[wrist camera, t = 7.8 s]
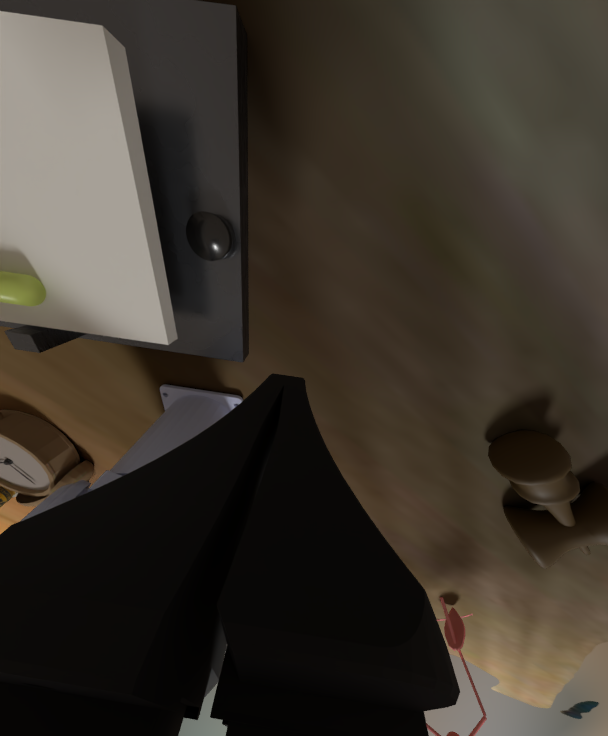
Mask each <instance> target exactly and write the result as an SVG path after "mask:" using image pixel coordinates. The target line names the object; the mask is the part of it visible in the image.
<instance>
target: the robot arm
mask: <svg viewBox="0 0 608 736" xmlns="http://www.w3.org/2000/svg"><path fill="white" fill-rule="evenodd" d="M160 393H161V397H162V401H163V405H164V409H165V412H164V413H163V414H162V415H161V416H160V417H159V418H158V420H157V421H156V422H155V423H154V424H153V425H152V426H151V427H150V428H149V429H148V430H147V431H146V432H145V433H144V435H143V436H142V437H141V438H140V439H139V440H138V441H137V442H136V443H135V444H134V445H133V446H132V447H131V448H130V450H129V451H128V452H127V453H126V454H125V455H124V456H123V457H122V458H121V459H120V460H119V461H118V462H117V463H116V464H115V466H114V467H113V468H112V469H111V470H110V471H109V470H107V471H105V472H104V473H103V474H102V475H101V476H100V478H99V479H98V480H97V481H96V482H95V483H94V484H93V485H92V486H91V487H90V488H89V489H87V488H88V487H89V486H90V484H91V483H89V482H87V481H85V480H80V481H78V482H76V483H72V484H68V485H64V486H62V487H60V488H59V489H57V490H56V491H55V492H53V493H52V494H51V495H50V496H48V497H47V498H46V499H45V500H44V501H42V502H41V503H40V504H39V505H38V506H37V507H36V508H34V509H33V510H32V511H31V512H30V513H29V514H28V515H27V516H26V517H24V518H23V519H22V520H21V521H20V522H18V523H16V524H13V525H11V526H10V527H9V528H8V529H6V530H5V531H4V532H3V533H2V534H1V535H0V736H178V734H179V731H180V727H181V724H182V721H183V717H184V718H190V719H195V720H198V718H199V715H200V711H201V707H202V703H203V699H204V697H205V696H206V695H207V694H208V693H209V692H210V691H211V690H212V689H213V687H214V686H215V685H216V684H217V683H218V686H217V689H216V694H215V698H214V702H213V706H212V711H211V716H210V717H211V718H216V719H221V720H223V722H222V724H223V725H225V726H227V732H226V736H429V735H428V731H427V726H426V721H425V716H424V711H427V710H433V709H439V708H445V707H449V706H452V705H455V704H456V701H457V699H458V696H459V693H460V690H459V686H458V683H457V679H456V676H455V673H454V669H453V666H452V662H451V659H450V656H449V652H448V649H447V646H446V643H445V641H444V638H443V635H442V633H441V630H440V627H439V625H438V622H437V619H436V617H435V614H434V612H433V609H432V607H431V604H430V601H429V599H428V596H427V594H426V591H425V590H424V588H423V587H422V586H421V584H420V583H419V582H418V581H417V579H416V578H415V577H414V576H413V574H412V573H411V572H410V571H409V569H408V568H407V567H406V565H405V564H404V563H403V562H402V560H401V559H400V558H399V557H398V555H397V554H396V553H395V551H394V550H393V549H392V547H391V546H390V545H389V543H388V542H387V541H386V539H385V538H384V537H383V535H382V534H381V533H380V531H379V530H378V528H377V527H376V526H375V524H374V523H373V521H372V520H371V519H370V517H369V516H368V514H367V513H366V511H365V510H364V509H363V507H362V506H361V504H360V502H359V501H358V499H357V498H356V496H355V495H354V493H353V492H352V490H351V488H350V487H349V485H348V484H347V482H346V481H345V479H344V478H343V476H342V474H341V473H340V471H339V469H338V467H337V465H336V464H335V462H334V460H333V458H332V456H331V455H330V453H329V451H328V449H327V447H326V445H325V443H324V441H323V438H322V436H321V434H320V432H319V429H318V427H317V424H316V422H315V419H314V417H313V414H312V411H311V408H310V404H309V401H308V397H307V393H306V387H305V380H304V379H303V378H300V377H293V376H286V375H279V374H271V375H270V376H269V377H268V378H267V379H266V380H265V381H264V382H263V383H262V384H261V385H260V386H259V387H258V388H257V389H256V390H255V391H254V392H253V393H251V394H250V395H249V396H248V397H247V398H246V399H245V400H244V401H243V399H242V397H240V396H238V395H232V394H225V393H219V392H212V391H206V390H199V389H193V388H186V387H179V386H173V385H166V384H164V385H162V386H161V387H160ZM166 393H167V394H166ZM237 404H238V405H237ZM226 646H227V648H226ZM225 651H226V652H225ZM224 655H225V657H224ZM223 660H224V661H223Z"/></svg>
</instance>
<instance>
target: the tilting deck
mask: <svg viewBox="0 0 608 736" xmlns="http://www.w3.org/2000/svg"><path fill="white" fill-rule="evenodd" d="M0 321H5V322H12V323H19V324H26V325H33V326H40V327H47V328H54V329H61V330H68V331H75V332H82V333H89V334H96V335H103V336H110V337H117V338H124V339H131V340H138V341H144V342H151V343H158V344H165V345H169V344H171V343H172V342H174V341H175V340H176V339H178V338H177V332H176V327H175V321H174V315H173V310H172V304H171V299H170V293H169V288H168V282H167V277H166V271H165V266H164V260H163V255H162V249H161V244H160V238H159V233H158V227H157V222H156V216H155V211H154V205H153V200H152V194H151V189H150V183H149V177H148V172H147V166H146V161H145V155H144V150H143V144H142V139H141V133H140V128H139V122H138V117H137V111H136V106H135V100H134V95H133V89H132V84H131V78H130V73H129V67H128V62H127V56H126V51H125V47H124V46H123V45H122V44H121V43H120V42H119V41H118V40H117V39H116V38H115V37H114V36H113V35H112V34H111V33H110V32H109V31H107V30H106V29H105V28H104V27H103V26H102V25H95V24H88V23H81V22H74V21H67V20H60V19H53V18H46V17H39V16H32V15H25V14H18V13H11V12H4V11H0Z"/></svg>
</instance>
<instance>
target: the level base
mask: <svg viewBox="0 0 608 736" xmlns="http://www.w3.org/2000/svg"><path fill="white" fill-rule="evenodd" d="M0 11H4V12H11V13H18V14H25V15H32V16H39V17H46V18H53V19H60V20H67V21H74V22H81V23H88V24H95V25H102V26H103V27H104V28H105V29H106V30H107V31H109V32H110V33H111V34H112V35H113V36H114V37H115V38H116V39H117V40H118V41H119V42H120V43H121V44H122V45H123V46H124V47H125V51H126V56H127V62H128V67H129V73H130V78H131V84H132V89H133V95H134V100H135V106H136V111H137V117H138V122H139V128H140V133H141V139H142V144H143V150H144V155H145V161H146V166H147V172H148V177H149V183H150V189H151V194H152V200H153V205H154V211H155V216H156V222H157V227H158V233H159V238H160V244H161V249H162V255H163V260H164V266H165V271H166V277H167V282H168V288H169V293H170V299H171V304H172V310H173V315H174V321H175V327H176V332H177V338H178V339H176V340H175V341H174V342H172V343H171V344H169V345H165V344H158V343H151V342H144V341H138V340H131V339H124V338H117V337H110V336H103V335H96V334H89V333H82V332H75V331H68V330H61V329H54V328H47V327H40V326H33V325H26V324H19V323H12V322H5V321H0V326H5V327H11V328H14V329H11V330H7V331H5V333H6V335H7V336H8V338H9V340H10V341H11V343H12V345H13V346H14V348H15V349H18V350H25V351H31V352H38V353H41V352H43V351H46V350H48V349H51V348H53V347H56V346H58V345H61V344H63V343H66V342H68V341H71V340H73V339H76V338H85V339H91V340H98V341H105V342H111V343H118V344H125V345H131V346H138V347H144V348H151V349H158V350H164V351H171V352H178V353H184V354H191V355H198V356H204V357H211V358H218V359H224V360H231V361H238V362H244V360H245V359H246V357H247V356H248V354H249V330H248V137H247V33H246V31H245V28H244V25H243V23H242V20H241V18H240V15H239V12H238V10H237V7H236V5H228V4H220V3H213V2H205V1H197V0H0Z"/></svg>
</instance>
